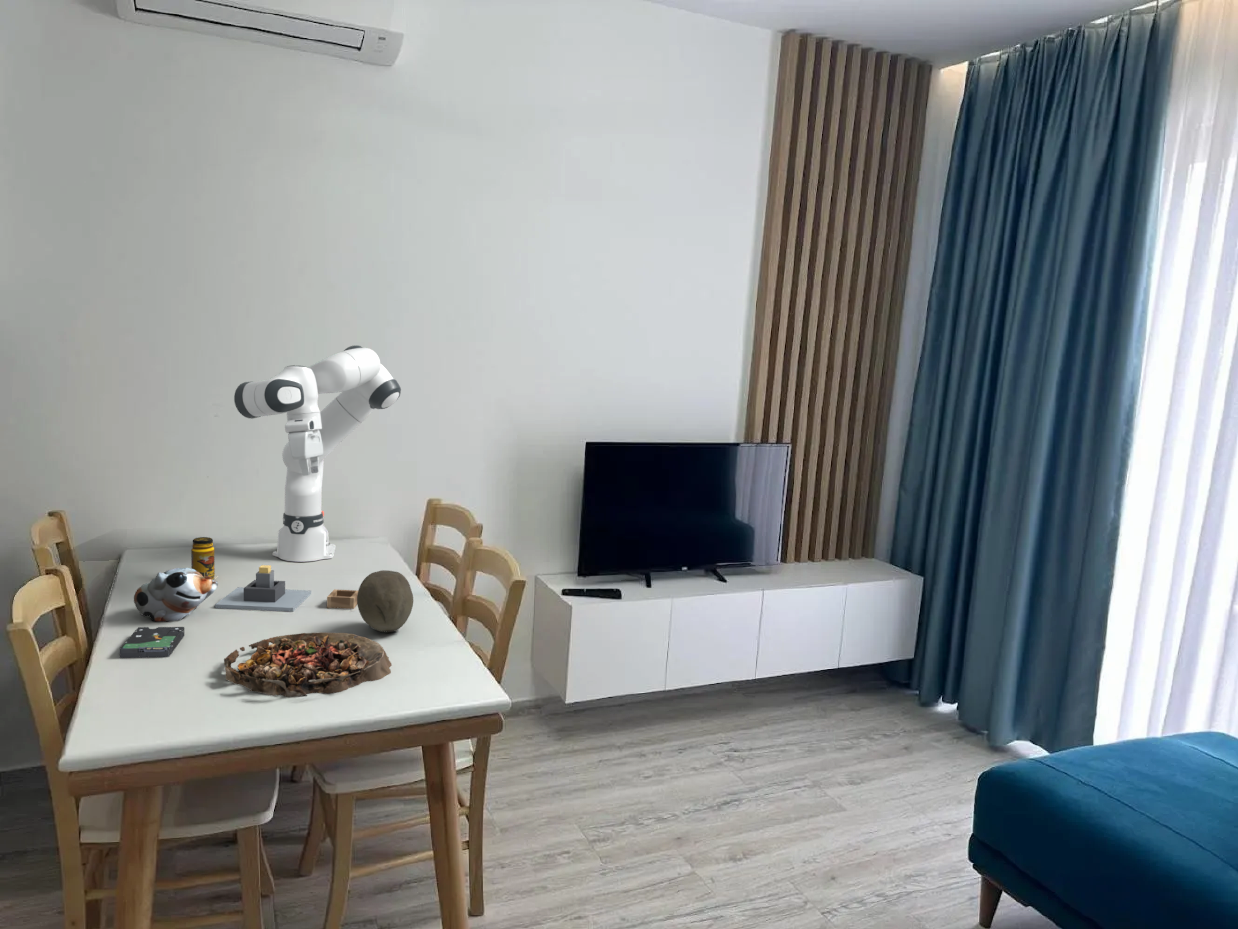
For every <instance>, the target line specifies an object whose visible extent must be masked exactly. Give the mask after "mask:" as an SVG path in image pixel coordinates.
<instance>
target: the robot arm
mask: <svg viewBox="0 0 1238 929" xmlns="http://www.w3.org/2000/svg"><path fill="white" fill-rule="evenodd" d="M401 391H402V389H401V386H400V384H399V383H398V381H397V380H396V378H395V379H394V377H393V375H391V373H390V371H389V370H388V369H387V368H386V367H385V366H384V365H383V364H382V363H381V359H380V357H379V355H378V354H377V352H376V351H375V350H373V349H372V348H369V347H364V346H361V345H350V346H348V347H347V348H345V349H344V350H342V351H339V352H337V353H334V354H331V355H329V356H326V357H325V358H322V359H321V360H319V361H318V362H315V363H313V364H311V365H310V366H306V365H305V366H304V365H295V364H294V365H286V366H285V367H283V370H281V372H279V373H278V374H276V375H274V376H272V377H270V378H268V379H264V380H256V381H245V382H242V383H240V384H239V385H238V386H237V388H235V391H234V397H233V401H234V405H235V407H236V410H237V411H238V412H239V414H240V415H241V416H243V417H244V418H247V419H250V420H251V419H252V420H253V419H257V418H261V417H266V416H267V417H268V416H269V417H270V416H276V415H283V414H285V413H286V423H285V425H284V430H285V433H286V434H288V435H287V437H288V441H287V442H286V444H285V445H284V447H283V449H282V453H281V458H282V461H283V463H284V465H285V467H286V477H285V485H284V512H283V513H282V514H283V515H282V525H283V526H282V527H281V528H279V530H278V531H277V532H278V536H277V550H274V551H273V552H272V557H276V558H279V559H281V560H283V561H288V562H296V563H297V562H299V563H300V562H302V563H303V562H305V563H306V562H314V561H320V560H327V559H333V558H334V555H335V551H336V546H337V545H336V544H334V543H330V538H329V535H330V534H329V532H330V531H328V528H327V527H326V526H325V524H324V523H325V522H324V521H325V520H324V518H325V517H324V516H325V511H324V510H322V505H323V504H322V502H323V501H322V499H323V498H322V494H323V492H322V491H323V490H322V489H323V478H324V464H325V463H324V461H325V460H324V459H326V458H327V457H328V456H329V454H331V453H332V452H333V451H334V450H335V449H336V448H337V447H338V446H339V445H340V444H341V443H342V442H343V441H344V440H345V439H346V438H347V437H348V436H350V434H352V433H353V432H354V431H355V430H356V429H357V428H358V426H360V425H361V424H362V423H363V422H364V421H366V419H367V418H368V417H369V416H370V415H371V413H373V411H374V410H375V409H377V410H385V409H387V408H389V407H392V405H394V404H395V403H396V402H397V400H399V398H400V396H401ZM335 393H339V394H338V395H337V396H336V397H334V399H333V400H331V402H329V403H328V404H327V405H326V406H325V407H324V408H323V409H321V410H320V408H319V403H318V402H319V394H335Z"/></svg>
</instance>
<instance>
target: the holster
mask: <svg viewBox="0 0 1238 929" xmlns="http://www.w3.org/2000/svg"><path fill="white" fill-rule="evenodd" d="M358 590H359V589H358ZM358 590H357V589H356V590H353V589H336V588H334V589H333V590H332V591H331V592H330V593H329V594H328V596H326V608H327V609H346V610H354V609H355V608H356V607H358V605H357V595H358Z"/></svg>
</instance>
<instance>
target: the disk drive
mask: <svg viewBox="0 0 1238 929" xmlns="http://www.w3.org/2000/svg"><path fill="white" fill-rule="evenodd" d="M184 637H185V626H158V627H156V628H150V627H148V626H142V627H140V626H139V627H137V628H136V629H135V630H134V631H133V633H132V634H131V635H130V636H129V637H128V638H127V639H126V641H125V642H124V643H123V644H122V645H121V647H119V658H120V659H139V658H140V659H142V658H143V659H144V658H148V659H149V658H170V656H171V655H172V654H173V652H174V651H175V649H176V648H177V646H178V645H179V644H180V642H181V641H182V640H183V639H184Z"/></svg>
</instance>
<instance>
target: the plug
mask: <svg viewBox="0 0 1238 929" xmlns="http://www.w3.org/2000/svg"><path fill="white" fill-rule="evenodd" d="M255 580H256V587H258V588H273V587H274V581H275V570H274V569H273V570H272V565H269V564H268V565H266V564H262V565H260V566H259V567H258V570H257V572H256V573H255Z"/></svg>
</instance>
